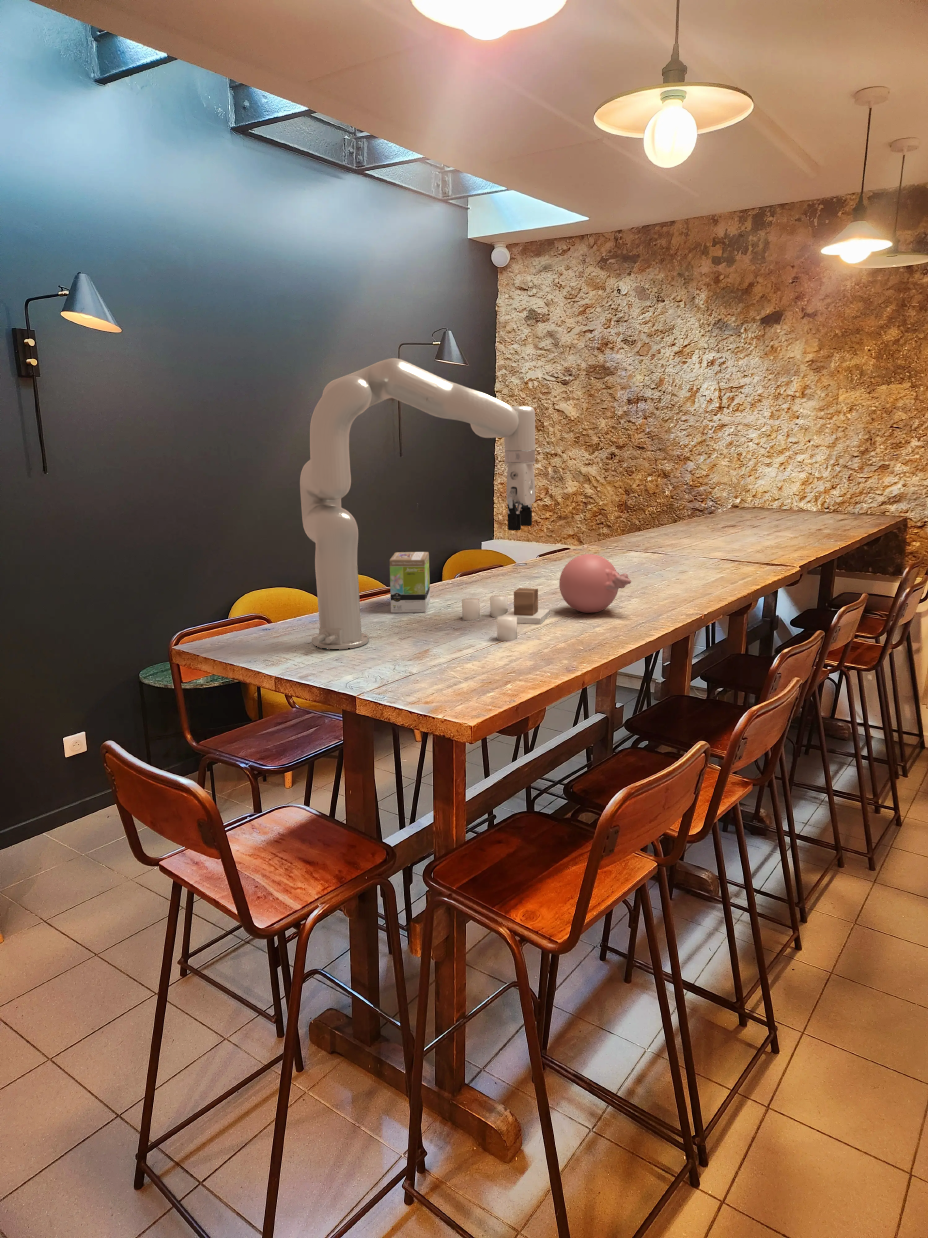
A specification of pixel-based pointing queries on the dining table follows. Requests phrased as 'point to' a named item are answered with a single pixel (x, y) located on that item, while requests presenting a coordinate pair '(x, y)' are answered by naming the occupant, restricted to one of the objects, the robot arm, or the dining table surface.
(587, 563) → the pink balloon
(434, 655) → the dining table surface
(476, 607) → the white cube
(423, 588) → the tea box
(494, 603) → the white cylinder
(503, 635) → the cup
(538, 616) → the stone coaster
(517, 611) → the walnut block
